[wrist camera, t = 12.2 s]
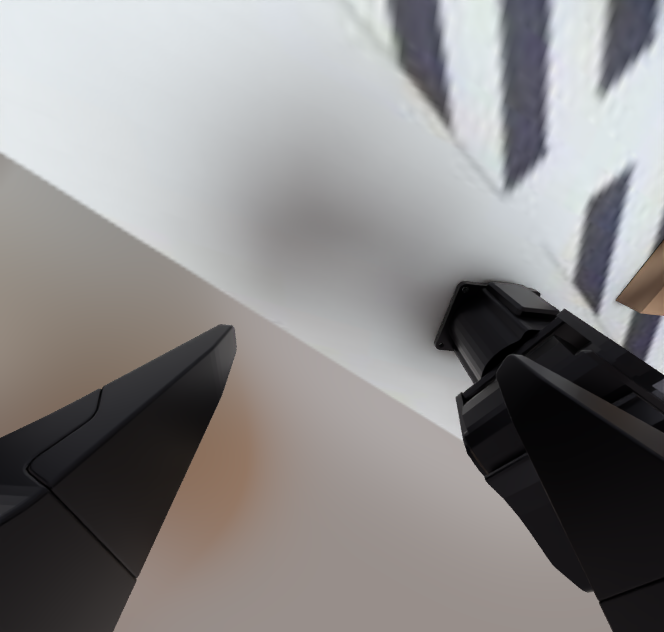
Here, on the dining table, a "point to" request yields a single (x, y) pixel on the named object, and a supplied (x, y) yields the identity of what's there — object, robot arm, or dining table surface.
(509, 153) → the dining table surface
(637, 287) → the wooden square frame
